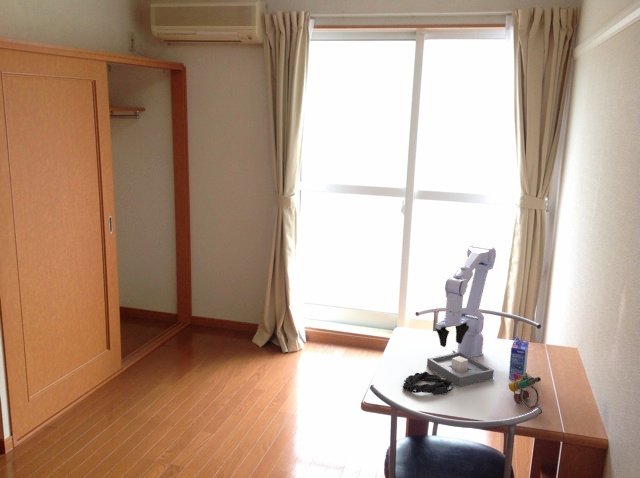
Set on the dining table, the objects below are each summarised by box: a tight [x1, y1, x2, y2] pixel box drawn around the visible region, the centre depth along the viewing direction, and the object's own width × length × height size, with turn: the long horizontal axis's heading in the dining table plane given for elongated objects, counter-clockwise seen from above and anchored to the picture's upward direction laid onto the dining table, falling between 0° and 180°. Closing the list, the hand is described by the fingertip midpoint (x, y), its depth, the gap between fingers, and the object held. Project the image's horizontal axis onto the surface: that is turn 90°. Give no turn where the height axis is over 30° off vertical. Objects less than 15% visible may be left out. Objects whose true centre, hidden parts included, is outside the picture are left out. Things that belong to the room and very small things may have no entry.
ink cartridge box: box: [508, 336, 530, 381], centre depth 210 cm, size 10×6×14 cm, turn 155°
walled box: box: [426, 352, 495, 388], centre depth 211 cm, size 16×18×4 cm
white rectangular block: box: [452, 356, 468, 372], centre depth 211 cm, size 4×4×6 cm
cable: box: [402, 371, 454, 396], centre depth 199 cm, size 17×14×4 cm
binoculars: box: [508, 375, 542, 408], centre depth 189 cm, size 9×9×10 cm
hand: (450, 344), depth 214 cm, fingers open, 7 cm apart
